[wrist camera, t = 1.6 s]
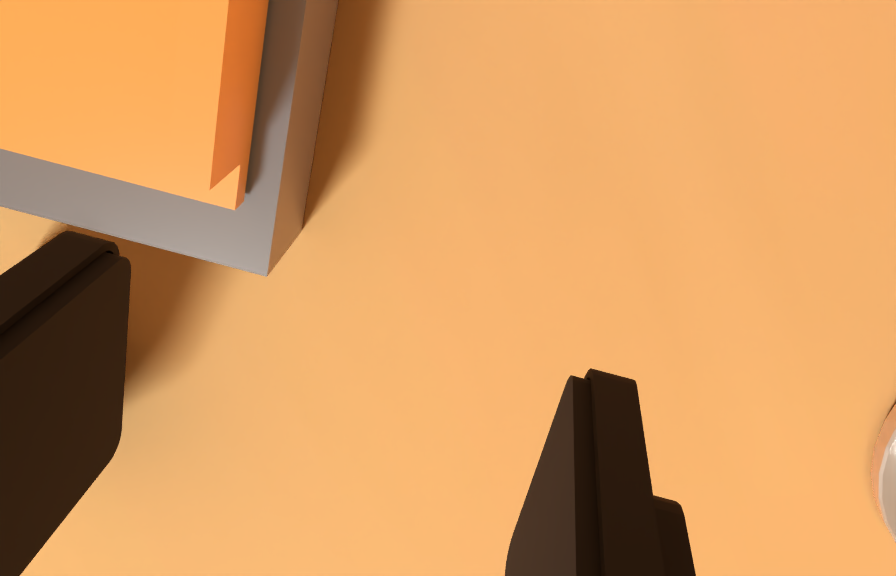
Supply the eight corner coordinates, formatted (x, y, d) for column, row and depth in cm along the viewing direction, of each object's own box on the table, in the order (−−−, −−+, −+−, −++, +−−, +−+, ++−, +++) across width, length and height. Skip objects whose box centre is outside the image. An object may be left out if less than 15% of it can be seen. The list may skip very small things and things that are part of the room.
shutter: (282, -111, 22) (240, -111, 19) (243, 201, 26) (204, 240, 23) (-10, -187, 22) (-96, -198, 19) (-3, 136, 26) (-73, 167, 23)
